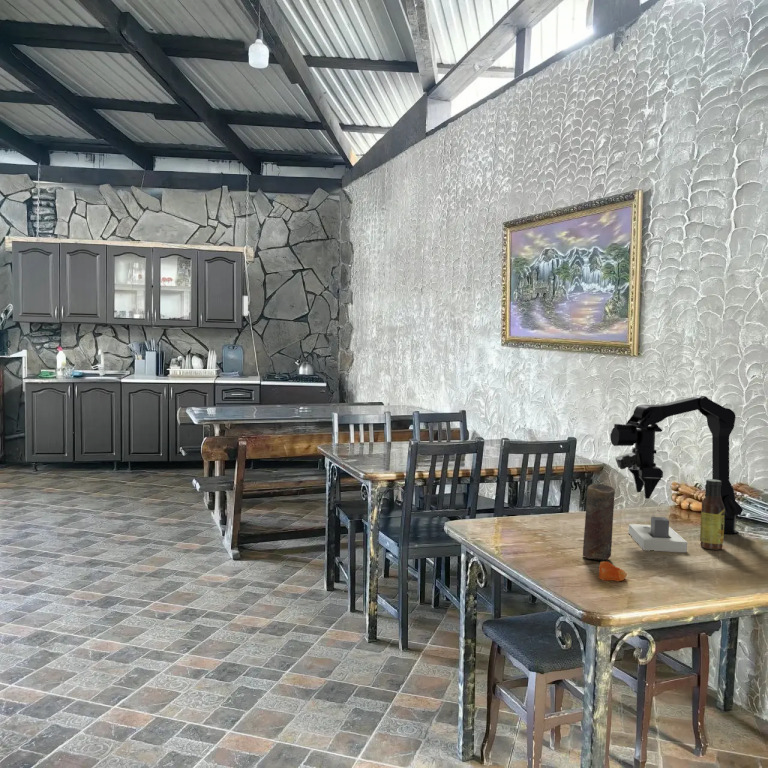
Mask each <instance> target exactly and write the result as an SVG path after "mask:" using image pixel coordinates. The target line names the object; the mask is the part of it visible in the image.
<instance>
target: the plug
mask: <svg viewBox="0 0 768 768" xmlns="http://www.w3.org/2000/svg"><path fill="white" fill-rule="evenodd" d="M650 525H651V532H650V536H651V537H655V538H668V536H669V527H670V519H668V518H667V517H666V516H665V517H663V516H662V517H661V516H651V517H650Z"/></svg>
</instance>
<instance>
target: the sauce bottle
mask: <svg viewBox="0 0 768 768" xmlns="http://www.w3.org/2000/svg"><path fill="white" fill-rule="evenodd" d="M705 482H706V483H705V485H707V492H706V491H705V493H706V494H707V495H706V497H705V496H704V498H703V499H702V501H701V511H700V530H699V532H700V534H699V535H700V536H699V538H700V539H699V541H700V546H701V547H702V548H704V549H706V550H712V551H713V550H715V551H719V550H722V549H723V546H724V545H723V544H724V538H725V537H724V536H725V535H724V534H725V533H724V513H725V508H724V504H723V501H722V498H721V494H720V490H721V481H720V480H714V479H712V478H710V479H706V480H705Z"/></svg>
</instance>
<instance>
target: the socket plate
mask: <svg viewBox="0 0 768 768" xmlns="http://www.w3.org/2000/svg"><path fill="white" fill-rule="evenodd" d="M650 532H651V524H639V523H637V524H636V523H629V524H628V533H627V534H628V535H629V534H630V535H631V536H632V537H633V538H632V537H631V536H630V535H629V536H630V537H631V538H632V539H633V540H634V542H636V544H637V543H638V544H639V545H638V544H637V545H638V546H639V547H640V548H641V550H643V551H650V550H654V552H671V553H687V552H688V541H687V540H685V539H684V538H683V537H682V536H681V535H680V534H679V533H677V532H676V531H675V530H674V529H673V528H672V527H671V526H669V536H668V538H655V537H651V536H650Z"/></svg>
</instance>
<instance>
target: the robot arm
mask: <svg viewBox="0 0 768 768" xmlns="http://www.w3.org/2000/svg"><path fill="white" fill-rule="evenodd" d="M692 411H693V412H694V411H698V412H699V413H700V414H701V415H702V416H705V418H706V421H707V427H708V429H709V431H710V433H711V436H712V441H711V442H712V443H711V445H712V448H711V449H712V451H711V453H712V455H711V457H712V462H711V463H712V467H711V469H712V471H711V473H712V477H711V479H714V480H720V481H721V490H720V494H721V498H722V501H723V504H724V508H725V513H724V534H732V533H734V534H736V535H737V533H739V534H740V532H739V531H738V530H736V517H737V516H741V515H742V512H743V511H744V509H743V507H742V506H741V504H739V503H738V502H737V500H736V493H735V489H734V488H733V485H732V483H731V481H730V436H731V433H732V432H733V430H734V428H735V423H736V413H735V412H734V410H732V409H731V408H727V407H724V406H722V405H720V404H718V403H717V402H715V401H713V400H711V399H710V398H709V397H708V396H706V395H700V394H698V395H694V396H691V397H688V398H683V399H679V400H675V401H670V402H666V403H661V404H640V405H638V406H636V407H635V408H634V411H633V414H632V415H631V416H630V418H629V419H628V421H627V422H626V423H625V424H621V423H614V425H613V428H612V429H611V432H610V435H609V436H610V443H611V444H612V446H614V447H625V446H626V447H633V446H634V447H633V448H632V449H631V450H632V451H631V452H629V453H626V454H622V455H618V456H616V457H615V459H614V460H615V461H616V465H617V467H618V468H619V469H620V470H626V469H627V470H628V471H629V472H630V473H631V474H632V476H633V481H634V485H635V489H636V492H637V493H641V492H642V490H643V493H644V498H645V499H646V500H647V499H650V497H651V496H652V495H653V492H654V491H655V489H656V487H657V485H658V484H659V482H660V481H661V480H662V479H663V477H664V471H663V470H662V469H661V468H660V467H658V466H657V464H656V463H657V462H655V454H657V450H656V449H655V448H656V446H655V444H656V443H655V442H656V433H657V432H658V433H661V432H663V429H662V428H661V427H660V426H659V425H658V423H661V422H662V421H664V420H665V419H666V418H668V417H673V416H677V415H681V414H685V413H689V412H692ZM704 489H705V492H704V493H705V494H704V498H705V497H706V495H707V494H706V492H707V485H706V484H705V485H704Z"/></svg>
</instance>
